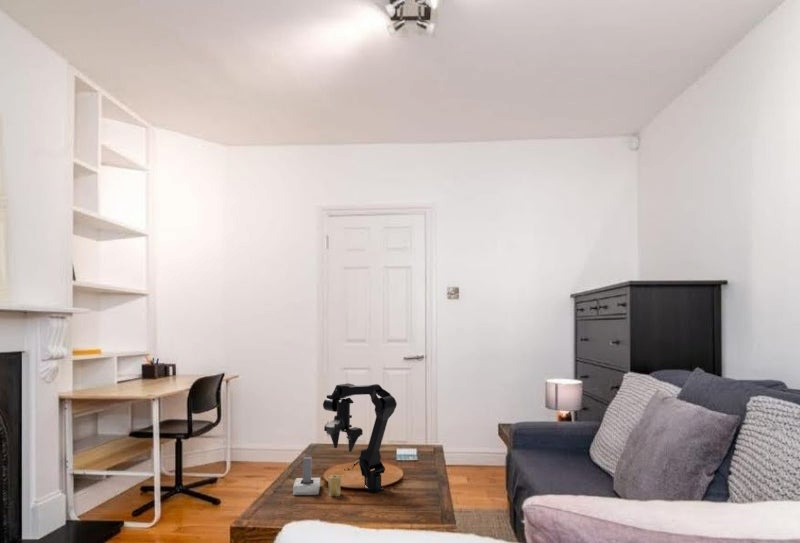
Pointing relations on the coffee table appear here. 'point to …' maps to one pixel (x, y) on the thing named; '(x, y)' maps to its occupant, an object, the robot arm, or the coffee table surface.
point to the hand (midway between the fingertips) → (342, 449)
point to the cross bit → (334, 485)
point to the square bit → (307, 470)
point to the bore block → (306, 487)
